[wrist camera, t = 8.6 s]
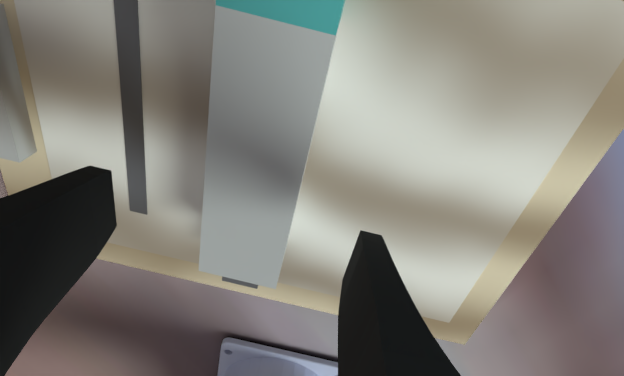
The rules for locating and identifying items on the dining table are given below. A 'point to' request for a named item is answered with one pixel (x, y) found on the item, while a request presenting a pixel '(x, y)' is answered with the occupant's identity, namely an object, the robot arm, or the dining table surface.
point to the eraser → (261, 129)
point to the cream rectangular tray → (332, 134)
